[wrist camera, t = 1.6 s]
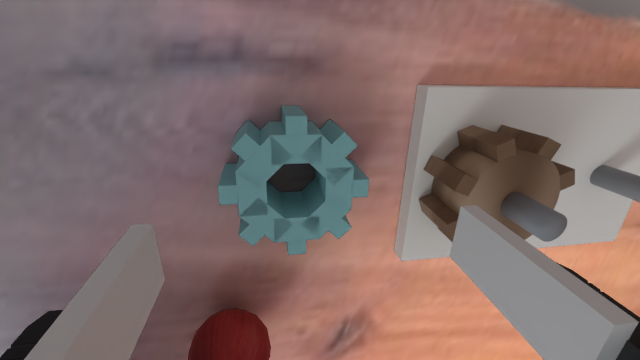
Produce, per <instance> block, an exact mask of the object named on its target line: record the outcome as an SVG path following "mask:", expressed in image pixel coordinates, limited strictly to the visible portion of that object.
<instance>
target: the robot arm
mask: <svg viewBox="0 0 640 360" xmlns="http://www.w3.org/2000/svg"><path fill="white" fill-rule="evenodd" d="M449 256H450V257H451V258H452V259H453V260H454V261H455V263H456V264H457V265H458V266H459V267H460V268H461V269H462V270H463V271H464V272H465V273H466V275H467V276H468V277H469V278H470V279H471V280H472V281H473V282H474V283H475V284H476V286H477V287H478V288H479V289H480V290H481V291H482V292H483V293H484V294H485V295H486V297H487V298H488V299H489V300H490V301H491V302H492V303H493V304H494V305H495V306H496V308H497V309H498V310H499V311H500V312H501V313H502V314H503V315H504V316H505V317H506V319H507V320H508V321H509V322H510V323H511V324H512V325H513V326H514V327H515V328H516V329H517V331H518V332H519V333H520V334H521V335H522V336H523V337H524V338H525V339H526V340H527V342H528V343H529V344H530V345H531V346H532V347H533V348H534V349H535V350H536V351H537V353H538V354H539V355H540V356H541V357H542V358H543V359H544V360H640V317H638V316H637V315H635V314H634V313H633V312H631V311H630V310H628V309H627V308H625V307H624V306H623V305H621V304H620V303H618V302H617V301H615V300H614V299H613V298H611V297H610V296H608V295H607V294H605V293H604V292H601V291H600V289H598V288H597V287H596V286H594V285H593V284H591V283H588V281H587V280H586V279H584V278H583V277H581V276H580V275H578V274H577V273H576V272H574V271H573V270H571V269H569V268H567V267H565V266H563V265H561V264H559V263H556V262H555V261H553V260H552V259H550V258H549V257H548V256H546V255H545V254H543V253H542V252H541V251H539V250H538V249H536V248H535V247H534V246H532V245H531V244H529V243H528V242H527V241H525V240H524V239H522V238H521V237H520V236H518V235H517V234H515V233H514V232H513V231H511V230H510V229H508V228H507V227H506V226H504V225H503V224H502V223H500V222H499V221H497V220H496V219H495V218H493V217H492V216H490V215H489V214H488V213H486V212H485V211H483V210H482V209H481V208H479V207H478V206H476V205H471V206H461V208H460V212H459V217H458V221H457V225H456V230H455V234H454V238H453V242H452V247H451V251H450V255H449ZM164 281H165V278H164V273H163V268H162V264H161V259H160V254H159V250H158V245H157V240H156V236H155V231H154V226H153V224H137V225H131V226H130V227H129V228H128V230H127V231H126V232H125V233H124V235H123V236H122V237H121V239H120V240H119V241H118V242H117V244H116V245H115V246H114V247H113V249H112V250H111V251H110V252H109V254H108V255H107V256H106V257H105V259H104V260H103V261H102V262H101V264H100V265H99V266H98V267H97V269H96V270H95V271H94V272H93V274H92V275H91V276H90V277H89V279H88V280H87V281H86V282H85V284H84V285H83V286H82V288H81V289H80V290H79V291H78V293H77V294H76V295H75V296H74V298H73V299H72V300H71V301H70V303H69V304H68V305H67V306H66V308H65V309H64V310H56V311H48V312H47V313H45V314H44V315H43V316H41V317H40V318H39V319H37V320H36V321H35V322H33V323H32V324H31V325H29V326H28V327H27V328H26V329H25V330H24V331H23V332H22V333H21V335H20V336H19V337H18V338H17V339H16V340H15V341H14V342H13V344H12V345H11V348H10V349H7V350H6V352H5V353H4V354H3V355H2V356H1V357H0V360H129V359H130V357H131V355H132V352H133V350H134V348H135V346H136V344H137V341H138V339H139V337H140V335H141V332H142V330H143V328H144V326H145V324H146V321H147V319H148V317H149V315H150V312H151V310H152V308H153V306H154V304H155V301H156V299H157V297H158V295H159V292H160V290H161V288H162V286H163V284H164Z"/></svg>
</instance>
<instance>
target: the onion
mask: <svg viewBox="0 0 640 360" xmlns="http://www.w3.org/2000/svg"><path fill="white" fill-rule="evenodd" d="M270 350H271V346H270V341H269V336H268V331H267V328H266V326H265V325H264V324H263V322H262V321H261V320H260V319H259V318H258V317H257V315H254V314H252V313H250V312H248V311H245V310H239V309H229V310H223V311H220V312H218V313H216V314H214V315H212V316H210V317H209V318H208V319H207V320H206V321H205V322H204V323H203V324H202V326H201V327H200V328H199V329H198V330H197V331H196V334H195V336H194V339H193V341H192V344H191V347H190V350H189V355H188V360H269V358H270Z"/></svg>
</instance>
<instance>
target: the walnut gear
mask: <svg viewBox="0 0 640 360" xmlns="http://www.w3.org/2000/svg"><path fill="white" fill-rule="evenodd" d="M457 134H458V139H459V146H458V147H456V148H455V149H454V150H453V151H451V152H450V153H449V154H448V155H447V156H446V157H445V159H444V160H442V159H440V158H438V157H435V156H433V155H431V157H430V158H429V160H428V162H427V164H426V166H425V167H424V169H423V170H425V171H426V172H428V173H429V174H431V175H432V176H433V177H434V179H433V183H432V193H431V194H428V195H426V196H424V197H421V198H419V203H420V206H421V210H422V212H423V213H424V214H425V215H426V216H427V217H428V218H429V219H430V220H431V221H433V222H434V223H435V224H436V225H437V226H438V229H439V230H440V231H441V232H442V233H443V234H444V235H445V236H446V237H447V238H448V239H449V240H450V241H451V242H453V238H454V234H455V230H456V225H457V221H458V217H459V212H460V208H461V206H471V205H476V206H478V207H479V208H481V209H482V210H483V211H485V212H486V213H488V214H489V215H490V216H492V217H493V218H495V219H496V220H497V221H499V222H500V223H502V224H503V225H504V226H506V227H507V228H508V229H510V230H511V231H513V232H514V233H515V234H517V235H518V236H520V237H521V238H522V239H524V240H526V239H527V238H529V237H530V236H531V235H533V234H531V233H530V232H528V231H527V230H525V229H524V228H522V227H521V226H519V225H517V224H516V223H514V222H513V221H511V220H510V219H508V218H507V217H505V216H504V215H503V214H502V213H501V205H502V203H503V201H504V200H505V199H506V198H507V197H508V196H509V195H511V194H513V193H516V192H519V193H522V194H524V195H526V196H528V197H530V198H532V199H534V200H536V201H538V202H540V203H542V204H543V205H545V206H547V207H549V208H551V209H553V210H554V208H555V206H556V203H557V201H558V198H559V193H560V191H561V190H564V189H566V188H568V187H570V186H573V185H575V169H573V168H570V167H568V166H565V165H562V164H559V163H556V162H554V161H551V159H552V158H553V156H554V155H555V154H556V152H557V151H558V149H559V148H560V146H561V144H560V143H558V142H556V141H554V140H552V139H550V138H548V137H545V136H541V135H537V134H534V133H530V132H527V131H523V130H519V129H516V128H512V127H509V126H505V125H501V127H500V128H499V130H498V131H497V133H496V132H493V131H490V130H487V129H484V128H481V127H477V126H474V125H471V126H469V127H467V128H464V129H462V130H460V131H457Z"/></svg>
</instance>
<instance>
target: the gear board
mask: <svg viewBox="0 0 640 360" xmlns="http://www.w3.org/2000/svg"><path fill="white" fill-rule="evenodd" d="M471 125H474V126H477V127H481V128H484V129H487V130H490V131H493V132H496V133H497V131H498V130H499V128H500V127H501V125H505V126H509V127H512V128H516V129H519V130H523V131H527V132H530V133H534V134H537V135H541V136H545V137H548V138H550V139H552V140H554V141H556V142H558V143H560V144H561V146H560V148H559V149H558V151H557V152H556V154H555V155H554V156H553V158H552V159H551V161H554V162H556V163H559V164H562V165H565V166H568V167H570V168H573V169H575V185H573V186H570V187H568V188H566V189H564V190H561V191H560V193H559V198H558V201H557V203H556V206H555V208H554V210H553V209H551V208H549V207H547V206H545V205H543V204H542V203H540V202H538V201H536V200H534V199H532V198H530V197H528V196H526V195H524V194H522V193H519V192H516V193H513V194H511V195H509V196H508V197H507V198H506V199H505V200H504V201H503V203H502V205H501V213H502V214H503V215H504V216H505V217H507V218H508V219H510V220H511V221H513V222H514V223H516V224H517V225H519V226H521V227H522V228H524V229H525V230H527V231H528V232H530V233H531V234H533V235H531V236H530V237H529V238H527V239H526V240H525V241H527V242H528V243H529V244H531V245H532V246H534V247H535V248H544V247H554V246H565V245H575V244H585V243H596V242H606V241H615V239H616V237H617V235H618V233H619V230H620V228H621V226H622V224H623V222H624V220H625V217H626V215H627V213H628V211H629V209H630V207H631V205H632V202H633V200H635V201H638V202H640V88H625V87H551V86H476V85H417V92H416V99H415V106H414V113H413V120H412V127H411V134H410V141H409V148H408V155H407V163H406V170H405V177H404V184H403V191H402V198H401V205H400V212H399V219H398V226H397V233H396V240H395V247H394V251H395V253H396V254H397V256H398V257H399V259H400V260H401V261H410V260H420V259H431V258H441V257H450V256H449V255H450V251H451V247H452V242H451V241H450V240H449V239H448V238H447V237H446V236H445V235H444V234H443V233H442V232H441V231H440V230H439V229H438V226H437V225H436V224H435V223H434V222H433V221H431V220H430V219H429V218H428V217H427V216H426V215H425V214H424V213H423V212H422V210H421V206H420V203H419V198H421V197H424V196H426V195H428V194H431V193H432V183H433V179H434V177H433V176H432V175H431V174H429V173H428V172H426V171H425V170H423V169H424V167H425V166H426V164H427V162H428V160H429V158H430V157H431V155H433V156H435V157H438V158H440V159H442V160H444V159H445V157H446V156H447V155H448V154H449V153H450V152H451V151H453V150H454V149H455V148H456V147H458V146H459V139H458V134H457V131H460V130H462V129H464V128H467V127H469V126H471Z"/></svg>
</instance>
